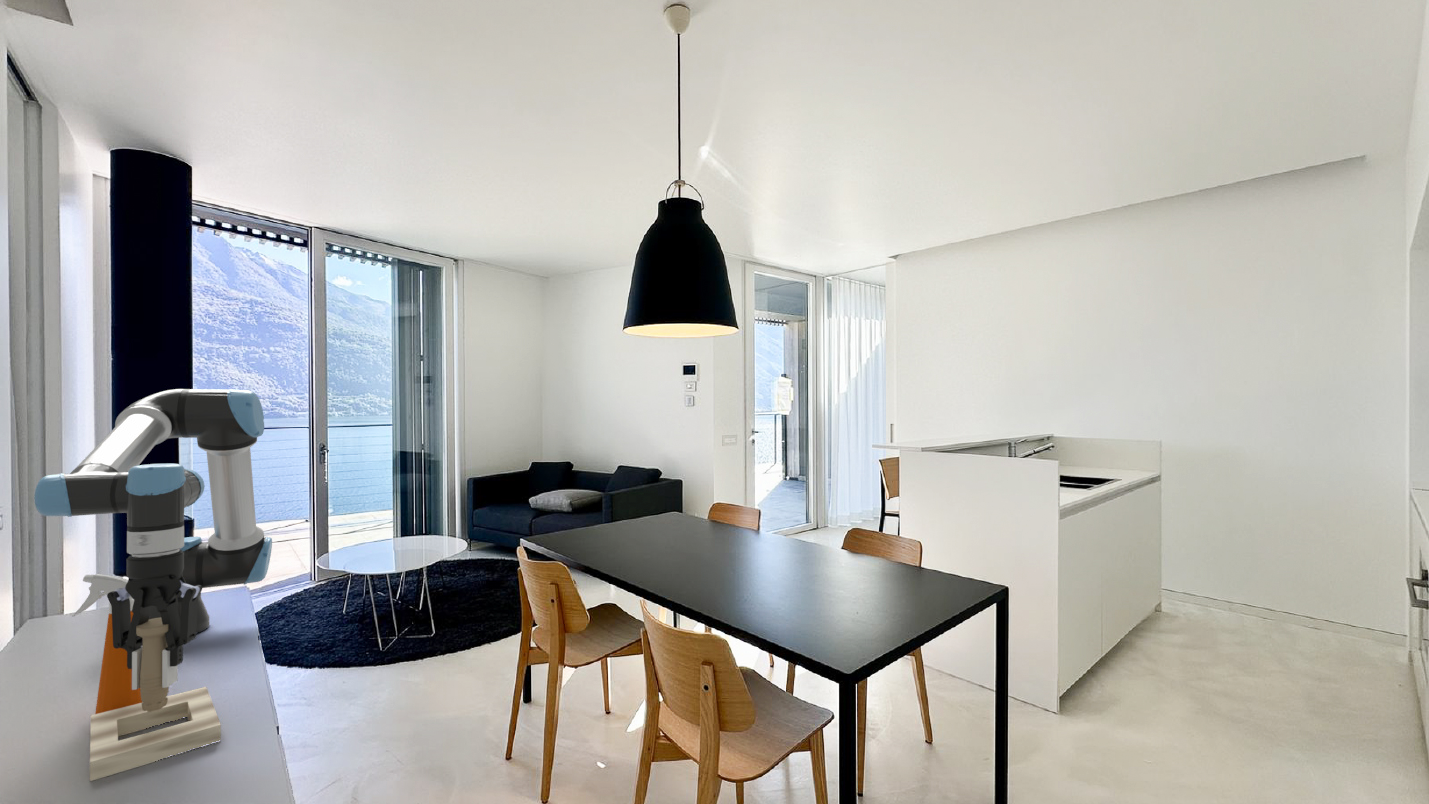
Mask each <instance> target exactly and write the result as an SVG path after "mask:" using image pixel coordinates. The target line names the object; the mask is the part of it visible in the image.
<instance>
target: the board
mask: <svg viewBox="0 0 1429 804" xmlns="http://www.w3.org/2000/svg"><path fill="white" fill-rule="evenodd" d="M166 697H168V700H167V704H166V706H164V707H162V708H161V709H159V710H154V711H151V712H148V711H143V710H142V703H139V704H135V705H131V706H127V707H123V708H119V709H115V710H111V711H107V712H103V713H99V714H92V715H90V732H89V733H90V734H89V735H90V741H89V745H90V746H89V782H92V781H95V780H99V779H103V778H106V777H108V776H112V775H115V774H120V773H122V772H126V771H129V770H132V769H135V768H138V767H142V766H145V765H148V764H152V763H155V761H156V762H159V761H161V760H160V759H162V760H164V759H163V758H166V757H168V756H170V755H175V756H177V755H176V754H178V753H181V752H185V751H188V750H190V749H193V748H198V747H201V746H203V745H206V744H211V743H212V742H216V741H219V740H221V741H222V739H221V735H222V733H221V731H222V729H221V727H222V726H221V722H220V719H219V716H218V714H217V711H216V708H215V706H214V703H213V701H212V700H213V699H212V697H211V695H210V692H209V690H208V688H207V686H203V687H199V688H195V689H191V690H187V691H184V692H180V693H179V692H178V693H176V694H171V695H167V696H166ZM183 717H188V718H187V720H188V721H186V722H185V721H184V722H182V723H178V724H175V725H170V726H167V727H163V728H160V729H155V730H152V731H148V732H145V733H143V734H138V735H135V736H131V737H127V738H124V739H120V740H119V737H121V736H124V735H127V734H131V733H135V732H140V731H143V730H147V729H150V728H149V727H151V728H153V727H152V726H154V727H156V726H155V725H158V726H161V725H160V724H162V725H164V724H163V723H165V722H169V721H173V722H176V721H179V720H178V719H180V720H182V719H181V718H183ZM175 720H176V721H175ZM169 723H170V722H169ZM165 724H166V723H165ZM146 728H147V729H146ZM185 753H186V752H185ZM166 759H167V758H166ZM158 760H159V761H158Z"/></svg>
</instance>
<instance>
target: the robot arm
mask: <svg viewBox="0 0 1429 804" xmlns="http://www.w3.org/2000/svg"><path fill="white" fill-rule="evenodd" d="M264 419H265V415H264V411H263V406H262V403H261V400H260V399H259V396H258V395H257V394H256V393H255V391H254V392H253V391H251V390H248V389H246V390H245V389H235V388H229V389H227V388H226V389H225V388H224V389H222V388H220V389H218V388H215V389H214V388H213V389H212V388H205V389H204V388H199V389H198V388H191V389H190V388H175V389H174V388H173V389H167V390H163V391H159V392H156V393H153V394H150V395H148V396H145V397H143V398H142V399H141V398H140V399H138V400H137V401H135V402H133V403H131V404H130V405H129V406H127V407H126V408H124V409H123V410H122V411H121V412H120V413H119V414H118V416H117V417H116V419H115V423H114V428H113V429H112V430H111V431H109V433H108V434H107V435H106V436H105V437H104V438H103V439H102V440H101V441H100V442H99V443H98V444H97V445H96V446H95V448H93V449H92V451H90V453H88V454H87V456H85V458H84V459H83V460H82V461H81V462H80V463H79V464H78V465H77V466H76V467H75V468H74V469H73V470H72V471H71V472H70V473H64V472H63V473H62V472H61V473H57V474H48V475H45V476H43V477H41V478H40V479H39V480H38V482H37V483H36V487H35V490H34V494H33V495H34V496H33V498H34V500H33V501H34V504H35V508H36V510H37V511H38V513H39V514H41V515H42V516H44V517H67V518H71V517H75V516H93V515H106V514H108V515H109V514H122V513H123V514H124V513H125V514H126V518H127V519H126V525H127V526H126V553H127V554H129V556H128V557H127V558H126V577H127V578H128V579H127V580H128V582H127V584H126V586H125V588H120V589H117V590H115V591H112V592H109V593H108V594H107V595H106V597H107V599H108V601H109V603H110V604H111V607H112V631H113V647H114V648H116V649H118V648H122V649H125V650H126V651H127V667H128V669H132V690H136V689H138V688H140V671H141V659H142V646H143V638H142V637H140V636H137V634H136V627H137V626H139V625H141V624H143V623H145V622H147V621H148V620H149V619H153V618H160V617H161V619H162V623H163V625H165V624H168V632H166V633H165V637H166V641H167V646H168V647H166V648H165V649H164V650H162V688H167V687H169V688H170V686H172V685H173V684H174V683H176V682H178V679H179V678H178V675H179V673H178V671H179V670H178V669H179V665H180V664H182V663H183V658H184V655H183V654H184V652H183V650H184V646H185V645H187V644H188V643H190V642H191V641H194V640H195V639H196V638H197V634H198V633H197V632H199V633H201V632H203V631H205V630H206V628H207V629H208V628H209V627H210V615H209V613H208V610H207V609H206V606H205V603H204V601H203V599H202V590H203V589H206V588H215V587H216V588H217V587H225V586H234V585H244V586H245V585H247V584H251V583H252V584H253V583H259V582H262V581H263V580H264V579H265V578H266V576H267V573H268V570H269V566H270V560H271V555H272V550H273V549H272V548H273V538H272V537H271V536H270V537H268V536H265V533H264V530H263V529H262V528H261V527H259V526H257V522H256V521H257V519H256V508H255V507H256V506H255V493H254V479H253V469H252V468H253V465H252V455H251V454H252V452H251V447H253V446H254V445H255V444H257V442H258V438H259V437H261V436H262V435H263V434H264V431H265V421H264ZM177 438H178V439H179V438H180V439H181V438H184V439H186V438H190V439H191V438H192V439H193V438H196V440H197V441H196V442H197V443H196V444H197V446H198V448H199V449H201V450H203V451H205V452H206V460H207V467H208V468H207V469H208V478H209V479H208V480H209V490H210V499H211V508H212V517H213V518H212V519H213V529H214V530H213V531H214V532H213V534H211V535H210V536H209V538H208V539H207V542H203V539H202V538H201V536H189V537H185V508H187V507H188V508H189V507H190V506H192V505H193V504H195V503H196V502H197V501H198V500H199V499H200V498H201V497H202V495H203V494H204V491H205V481H204V479H203V477H202V476H201V475H200V474H199V473H198V472H196V471H194V470H192V469H189V468H185V467H184V466H183V465H182V464H180V463H168V462H167V463H150V464H149V463H148V464H141V463H142V462H143V461H144V460H145V458H146V457H147V455H148V454H149V453H150V452H151V451H152V449H154V447H155V446H156V445H159V444H161V443H163V442H164V441H166V440H168V439H177ZM140 464H141V465H140ZM130 596H131V597H132V598H133V599H134V604H133V608H132V612H133V616H132V621H131V613H130V600H129V597H130Z"/></svg>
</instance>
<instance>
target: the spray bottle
mask: <svg viewBox="0 0 1429 804" xmlns="http://www.w3.org/2000/svg"><path fill="white" fill-rule="evenodd" d="M128 580H129V579H127V578H122V577H119V576H115V575H114V576H113V575H110V574H101V573H99V572H98V573H95V574H85V575H84V576H83V579H82V581H83V582H85V583H89V584H90V586H89V587H88V589H89V595H88V596H87V597H86V599H85V600H84V602H83V603H82V604H81V606H80V607H79V608H78V609H77V610H76V611H75V612H74V613H73V614H72V615H71V617H72V618H73V617H75V616H77V615H79V614H82V613H83V612H84V611H86V610H87V609H89V608H90V607H91V606H92V605H94V604H95V603H96V602H97V601H98V600H99V599H102V597H104V596H107V594H108V593H109V592H112V591H115V590H117V589H120V588H125V586H126V584H127V582H128ZM102 591H103V592H102ZM129 600H130V613H131V621H132V616H133V612H132V608H133V604H134V599H133V598H132V597H131V596H130V597H129ZM107 615H108V617H107V623H106V632H105V638H104V647H103V654H102V660H101V669H100V676H99V683H98V690H97V697H96V706H95V712H94V713H95V714H99V713H103V712H107V711H111V710H115V709H119V708H123V707H127V706H131V705H135V704H139V703H143V702H142V700H141V693H140V690H141V689H140V688H138V689H136V690H132V669H128V667H127V651H126V650H125V649H122V648H118V649H116V648H114V647H113V631H112V607H111V604H110V602H109V603H108V614H107ZM95 714H94V715H95Z"/></svg>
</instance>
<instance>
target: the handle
mask: <svg viewBox="0 0 1429 804" xmlns="http://www.w3.org/2000/svg"><path fill="white" fill-rule="evenodd" d="M166 632H168V624H165V625H163V623H162V619H161V617H160V618H153V619H149V620H148V621H147V622H145V623H143V624H141V625H139V626H137V627H136V634H137V636H140V637H142V638H143V645H142V646H141V647H142V659H141V671H140V689H141V690H140V693H141V700H142V702H143V703H142V710H143V711H148V712H151V711H154V710H159V709H161V708H162V707H164V706H166V704H167V700H168V697H167V696H169V695H168V694H169V689H170V686H169V687H167V688H162V650H164V649H165V648H166V647H168V646H167V641H166V637H165V633H166Z"/></svg>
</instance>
